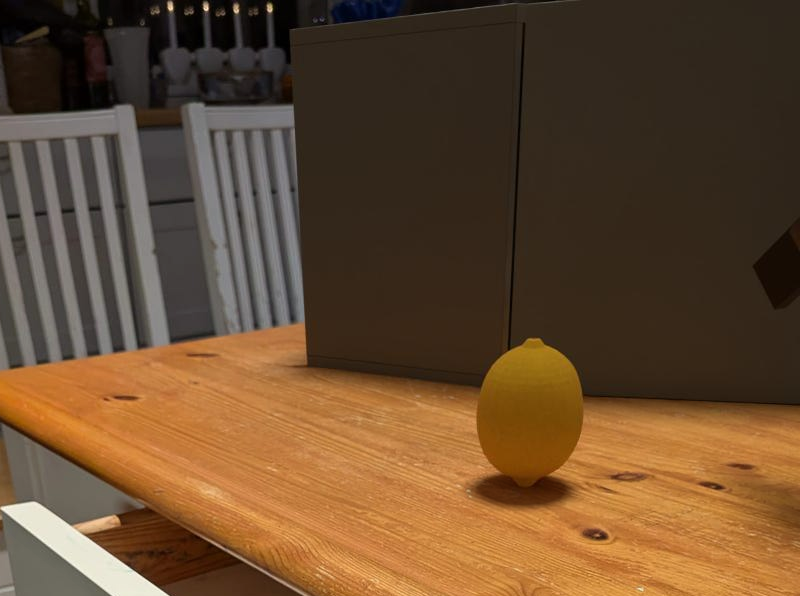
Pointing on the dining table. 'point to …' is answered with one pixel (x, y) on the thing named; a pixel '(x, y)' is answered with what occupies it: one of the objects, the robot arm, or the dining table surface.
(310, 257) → the cupboard
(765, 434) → the dining table surface
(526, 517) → the dining table surface
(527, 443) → the lemon
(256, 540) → the dining table surface
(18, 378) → the dining table surface
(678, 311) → the cupboard door
